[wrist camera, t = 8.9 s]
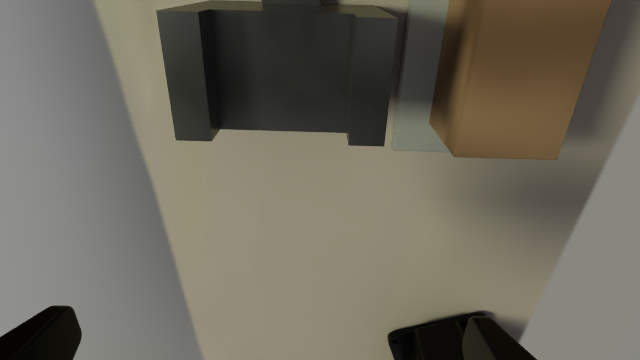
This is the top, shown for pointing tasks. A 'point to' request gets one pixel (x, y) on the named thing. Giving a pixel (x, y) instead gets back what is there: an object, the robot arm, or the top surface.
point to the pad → (419, 77)
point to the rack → (278, 68)
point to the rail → (512, 75)
